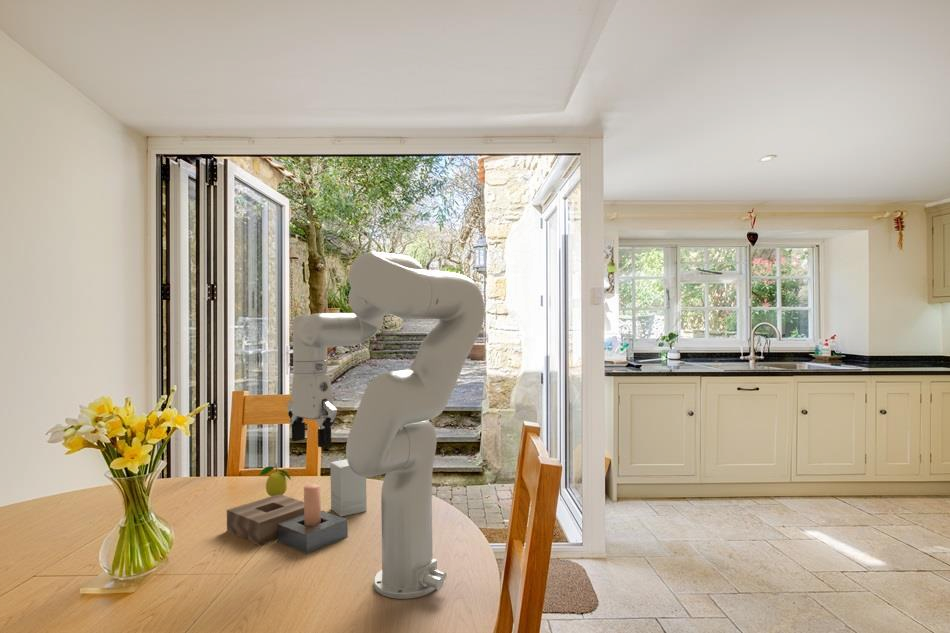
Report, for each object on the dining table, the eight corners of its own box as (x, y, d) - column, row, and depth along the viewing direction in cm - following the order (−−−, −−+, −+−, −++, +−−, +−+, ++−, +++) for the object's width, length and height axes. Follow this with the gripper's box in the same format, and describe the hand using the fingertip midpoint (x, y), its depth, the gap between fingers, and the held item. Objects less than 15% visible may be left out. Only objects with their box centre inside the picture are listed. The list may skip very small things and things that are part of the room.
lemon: (259, 499, 149) (259, 464, 149) (277, 493, 154) (277, 459, 154) (273, 504, 145) (273, 467, 145) (292, 498, 150) (291, 462, 150)
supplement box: (367, 511, 139) (366, 462, 139) (339, 517, 135) (339, 467, 135) (356, 503, 145) (356, 457, 145) (330, 509, 141) (329, 461, 141)
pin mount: (347, 536, 122) (347, 519, 122) (306, 553, 114) (306, 535, 114) (318, 526, 129) (317, 509, 129) (277, 541, 120) (277, 523, 120)
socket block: (312, 525, 130) (312, 504, 130) (259, 545, 118) (259, 522, 118) (279, 513, 138) (279, 494, 138) (226, 530, 127) (226, 509, 127)
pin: (324, 538, 122) (323, 485, 122) (310, 543, 119) (310, 490, 119) (314, 534, 124) (313, 483, 124) (301, 539, 121) (300, 487, 121)
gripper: (348, 368, 119) (349, 444, 119) (301, 365, 130) (302, 435, 130) (320, 371, 113) (321, 451, 113) (274, 367, 124) (274, 441, 124)
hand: (311, 443), depth 122 cm, fingers open, 9 cm apart
